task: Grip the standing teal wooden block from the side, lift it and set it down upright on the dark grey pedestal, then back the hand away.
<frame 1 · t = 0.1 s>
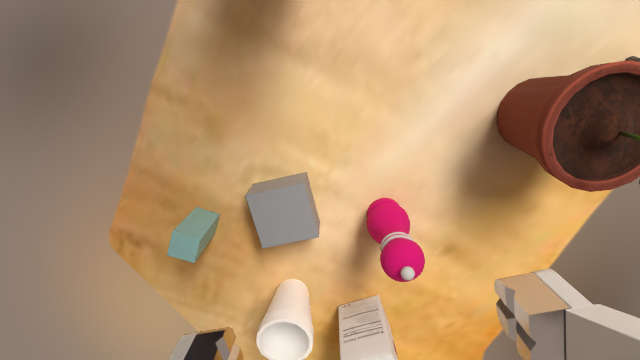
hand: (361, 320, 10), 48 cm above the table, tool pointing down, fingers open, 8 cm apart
pepper mill: (383, 213, 61), on the table
foam cup: (292, 291, 67), on the table
potted plant: (550, 110, 55), on the table
block: (205, 220, 62), on the table
pedestal: (287, 203, 61), on the table
supplement box: (364, 315, 68), on the table
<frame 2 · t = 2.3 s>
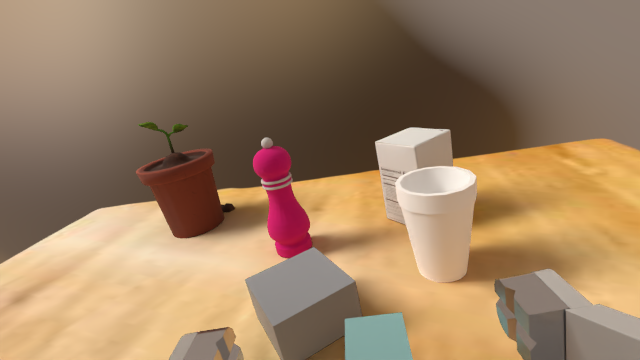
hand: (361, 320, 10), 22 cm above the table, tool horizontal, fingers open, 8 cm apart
pepper mill: (295, 248, 58), on the table
foam cup: (442, 268, 45), on the table
potted plant: (198, 221, 79), on the table
pedestal: (307, 320, 41), on the table
supplement box: (420, 215, 60), on the table
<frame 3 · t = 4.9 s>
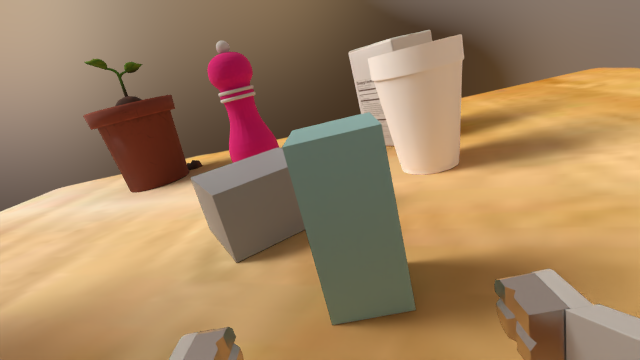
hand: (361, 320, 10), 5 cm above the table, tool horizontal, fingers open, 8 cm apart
pepper mill: (263, 179, 50), on the table
foam cup: (430, 166, 38), on the table
potted plant: (161, 179, 71), on the table
block: (368, 291, 20), on the table
pedestal: (269, 222, 33), on the table
supplement box: (405, 139, 53), on the table
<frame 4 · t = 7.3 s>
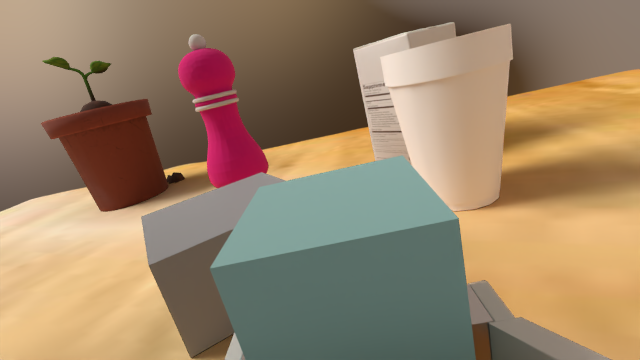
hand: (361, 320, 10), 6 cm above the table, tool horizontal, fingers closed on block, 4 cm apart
pepper mill: (249, 203, 42), on the table
foam cup: (460, 197, 29), on the table
potted plant: (137, 194, 63), on the table
pedestal: (247, 278, 25), on the table
supplement box: (420, 154, 44), on the table
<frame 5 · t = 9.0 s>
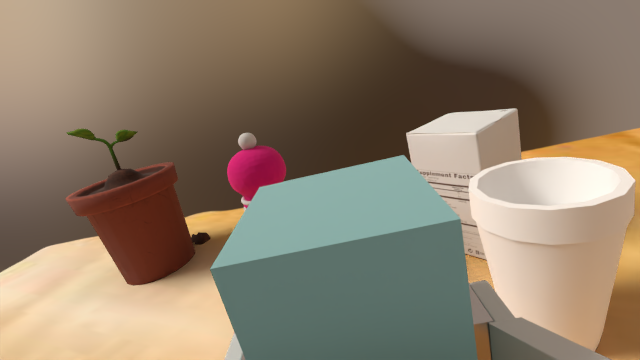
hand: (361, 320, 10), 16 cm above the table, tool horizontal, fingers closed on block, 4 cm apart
pepper mill: (297, 297, 39), on the table
foam cup: (549, 329, 27), on the table
potted plant: (161, 258, 60), on the table
supplement box: (474, 236, 42), on the table
when the fingers open (13 cm above the table, at t = 10.7 s): block drops 1 cm, resting on pedestal.
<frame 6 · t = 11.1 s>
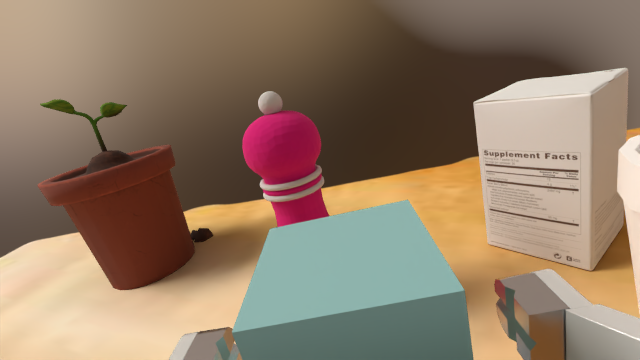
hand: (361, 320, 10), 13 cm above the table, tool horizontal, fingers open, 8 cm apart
pepper mill: (328, 313, 30), on the table
potted plant: (156, 257, 51), on the table
supplement box: (552, 237, 33), on the table
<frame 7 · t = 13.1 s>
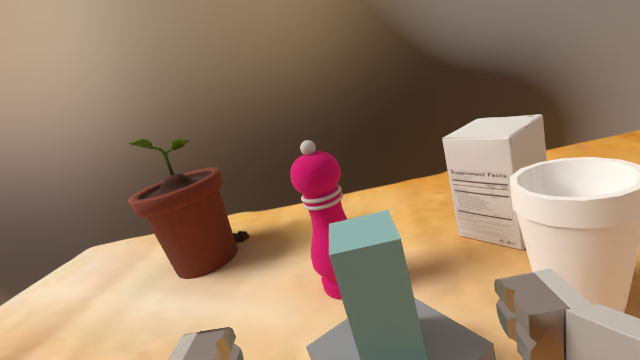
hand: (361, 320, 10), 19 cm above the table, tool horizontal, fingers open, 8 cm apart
pepper mill: (347, 285, 44), on the table
foam cup: (579, 304, 32), on the table
potted plant: (206, 255, 66), on the table
block: (391, 345, 25), point 6 cm above the table, touching pedestal
supplement box: (503, 229, 47), on the table
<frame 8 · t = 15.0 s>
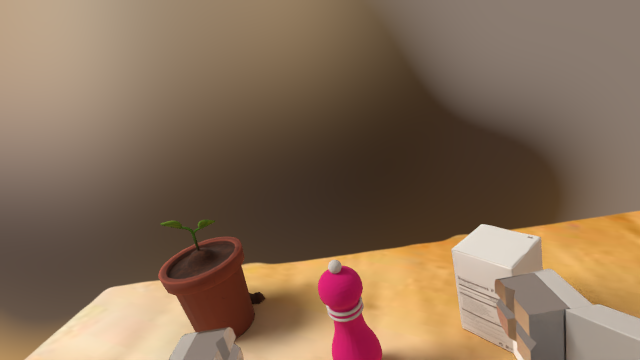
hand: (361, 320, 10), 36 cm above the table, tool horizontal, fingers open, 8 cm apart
potted plant: (225, 316, 71), on the table
supplement box: (502, 325, 52), on the table
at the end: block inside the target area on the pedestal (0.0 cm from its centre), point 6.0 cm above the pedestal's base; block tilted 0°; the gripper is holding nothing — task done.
